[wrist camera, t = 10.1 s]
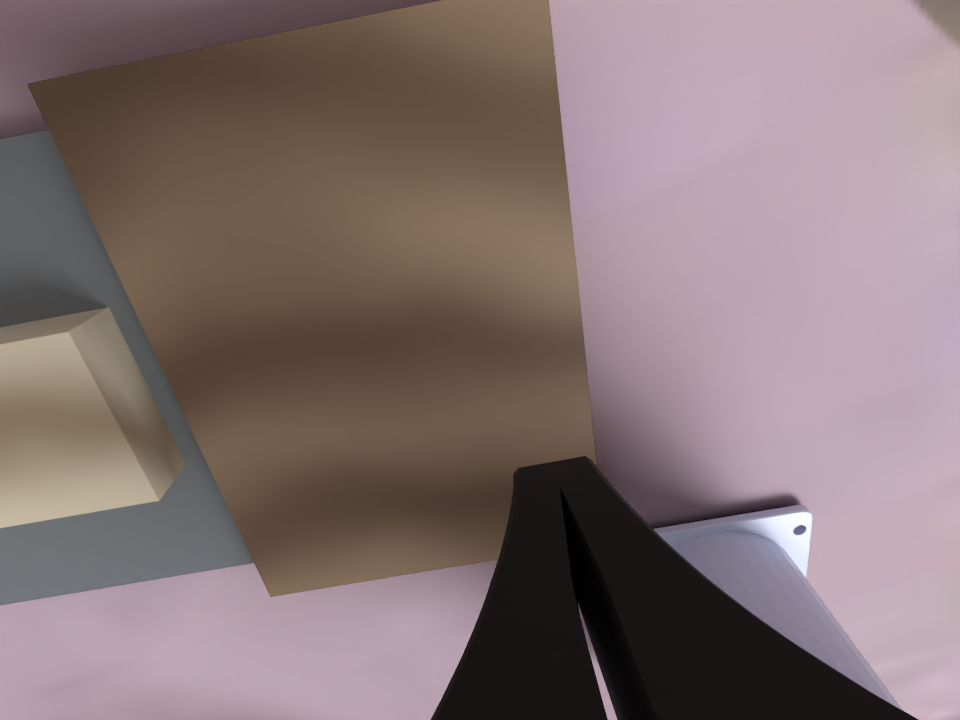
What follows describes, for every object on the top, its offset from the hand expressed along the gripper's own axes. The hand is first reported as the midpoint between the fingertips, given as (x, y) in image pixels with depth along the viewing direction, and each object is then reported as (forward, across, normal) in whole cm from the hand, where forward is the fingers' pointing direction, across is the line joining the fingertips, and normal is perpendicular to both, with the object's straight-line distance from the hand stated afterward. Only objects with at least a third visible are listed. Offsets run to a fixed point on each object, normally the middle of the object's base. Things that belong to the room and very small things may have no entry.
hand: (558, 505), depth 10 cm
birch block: (+9, +17, 0) cm, 19 cm away
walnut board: (+9, +4, 0) cm, 10 cm away
